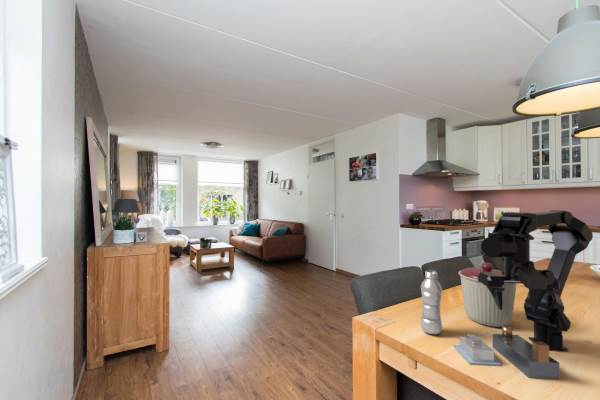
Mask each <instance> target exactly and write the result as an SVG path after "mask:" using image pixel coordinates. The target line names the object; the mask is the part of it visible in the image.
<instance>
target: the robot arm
mask: <svg viewBox="0 0 600 400" xmlns="http://www.w3.org/2000/svg"><path fill="white" fill-rule="evenodd" d="M546 226H548V229H547V230H548V231H549V233H550V235H551V241H552V243H553V245H554V250H553V253H552V255H551V258H550V260H549V262H548V265H547V268H546V269H536V268H535V263H534V261H532V260H531V259H530V257H531V256H530V255H531V251H530V250H531V249H530V248H531V245H530V244H531V242H530V241H534V240H535V237H534V236H533V235H531V234H530V233H532V232H535V231H537V230H538V228H539V227H546ZM593 234H594V233H593V232H592V230H591V229H590V227H589V226H588V225H587V223H586V222H584V221H582V220H581V219H579V218H577V217H575V216H574V215H573V214H572V213H571V211H567V210H552V209H551V210H548V211H540V212H520V211H519V212H518V211H517V212H512V211H511V212H510V211H505V212H503V213H502V214H501V216H500V217H499V219H498V221H497V223H496V224H495V227H494V228H493V230H492V231H491V232H488V233H487V237H486V238H484V239H483V240H482V242H481V245H480V248H481V251H482V252H483V254H484V256H486V257H488V258H490V259H491V258H492V259H494V258H495V259H496V258H501V259H500V260H501V261H502V262H504V270H501V271H502V275H504V276H499V275H497V274H495V273H490V272H480V274H479V275H478V281H479V282H481V283H483V285H485V286H487V288H488V289H489V291H490V293H491V294H492V296H493V299H494V301H495V303H496V305H497V307H498V309H500V310H502V306H503V303H502V292H503V291H504V290H505V288H503V287H502V286H503V285H504V283H517V284H522V285H523V286H524V287H525V288H526V289H528V293H527V296H526V298H525V299H524V303H523V310H524V313H525V314H524V315H525V317H526V320H528V321H531V322H533V336H529V337H528V340H530V341H531V342H532V341H539V342H544V343H545V344H547V345H549V351H569V348H568V347H566V346H564V338H563V336H564V335H563V332H569V330H570V328H571V324H572V322H571V320H570V319H569V317H568V316H567V315H566V313H565V306H564V302H563V300H562V294H563V291H564V288H565V286H566V282H567V280H568V277H569V276H570V275H569V274H570V272H571V269H572V267H573V264H574V261H575V259H576V257H577V255H578V254H579V253H581V252H583V251H584V250H586V249H588V246H589V245H590V242H591V241H592V240H593V238H594V235H593ZM510 279H511V280H510Z"/></svg>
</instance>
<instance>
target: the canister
mask: <svg viewBox="0 0 600 400" xmlns="http://www.w3.org/2000/svg"><path fill="white" fill-rule="evenodd" d="M502 271H503V270H500V269H499V270H498V269H495V268H494V265H493V264H492V263H490V262H483V263H481V265H480V267H466V268H463V269H461V270H459V271H458V275H459V276H460V283H461V291H462V298H463V299H462V300H463V305H464V310H465V314H466V315H467V317H468V318H469V319H470V320H472V321H474V322H475V323H478V324H481V325H484V326H488V327H494V328H502V326H503V325H506V326H509V325H510V323H511V321H512V318H513V312H514V306H515V299H516V292H517V291H516V290H517V284H518V283H504V285H503V286H502V287H503V288H505V290H504V291H503V292H502V303H503V306H502V310H500V309H498V307H497V305H496V303H495V301H494V299H493V296H492V294H491V293H490V291H489V289H488V288H487V286H485V285H483V283H481V282H479V281H478V275H479V274H480V272H490V273H495V274H497V275H499V276H504V275H502ZM510 280H511V279H510Z"/></svg>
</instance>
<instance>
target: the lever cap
mask: <svg viewBox="0 0 600 400" xmlns="http://www.w3.org/2000/svg"><path fill="white" fill-rule="evenodd" d="M465 335H466V336H459V345H460V348H461V349H462V350H463V351H464V352H465V353H466V354H467V355H468V356H469V358H470V359H471V360H472V361H483V362H494V358H495V349H494V348H492V347H490V346H489V345H488V344H487V343H486V342H485V341H483V340H482V339H481V338H480V337H478V336H477V335H476V334H472V333H471V334H470V333H468V334H467V333H466V334H465Z"/></svg>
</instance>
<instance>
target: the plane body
mask: <svg viewBox="0 0 600 400" xmlns="http://www.w3.org/2000/svg"><path fill="white" fill-rule="evenodd" d="M501 330H502V331H501V333H492V349H493V350H494V351H496V352H498V354H500V355H501V356H502V357H504V358H505V359H506V360H507V361H508V362H509V363H511V364H512V365H513V366H514V367H515V368H516V369H517V370H519V371H520V372H522V373H523V374H524V375H525V376H526V377H527V378H529V379H546V380H547V379H548V380H560V362H558V361H557V360H556V359H554V358H553V357H552V356H550V350H549V345H547V344H545V343H544V342H539V341H531V342H529V341H527V340H526V339H524V338H523V337H521V336H520V335H519V334H513V327H512V326H509V325H507V326H506V325H503V326H502V327H501Z"/></svg>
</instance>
